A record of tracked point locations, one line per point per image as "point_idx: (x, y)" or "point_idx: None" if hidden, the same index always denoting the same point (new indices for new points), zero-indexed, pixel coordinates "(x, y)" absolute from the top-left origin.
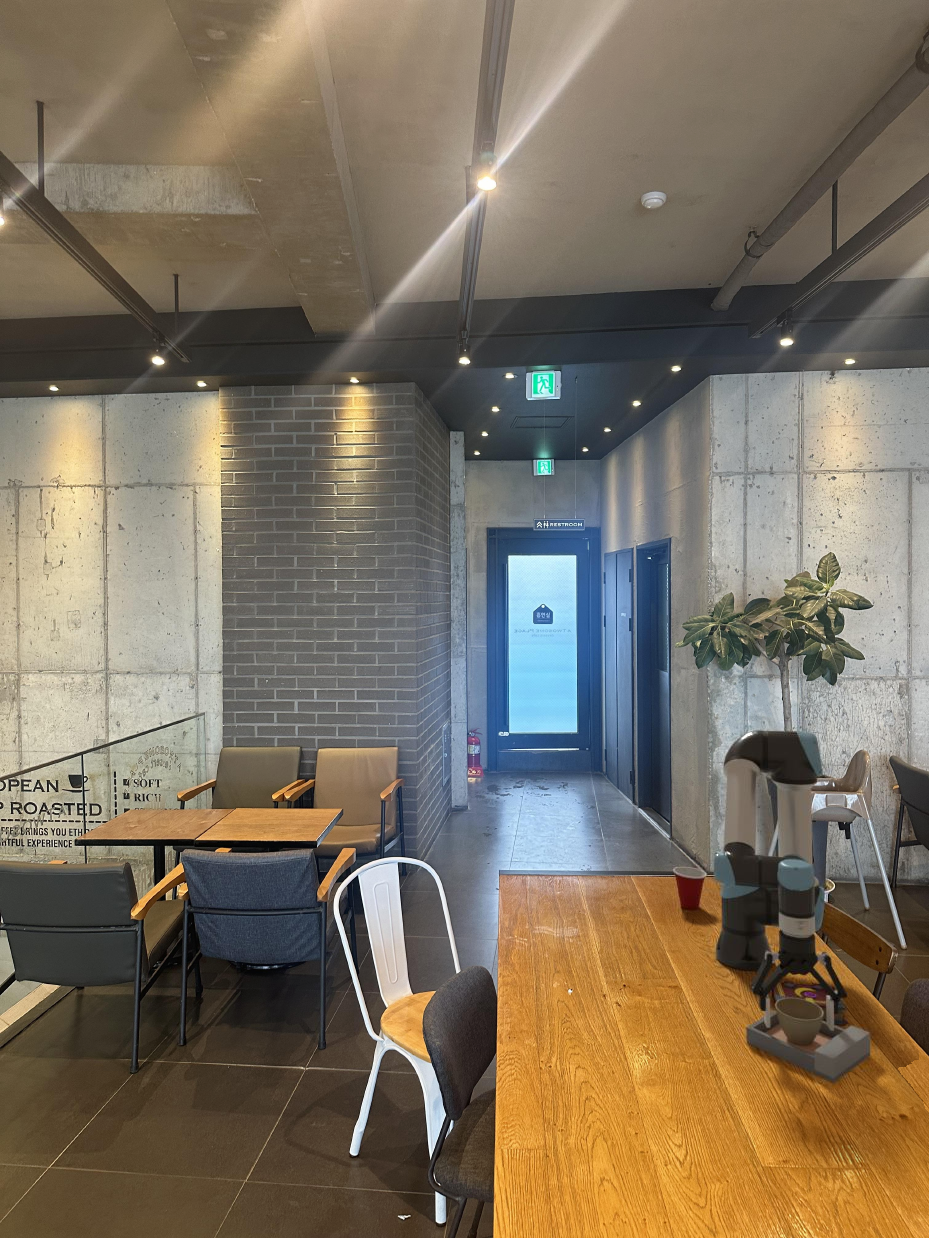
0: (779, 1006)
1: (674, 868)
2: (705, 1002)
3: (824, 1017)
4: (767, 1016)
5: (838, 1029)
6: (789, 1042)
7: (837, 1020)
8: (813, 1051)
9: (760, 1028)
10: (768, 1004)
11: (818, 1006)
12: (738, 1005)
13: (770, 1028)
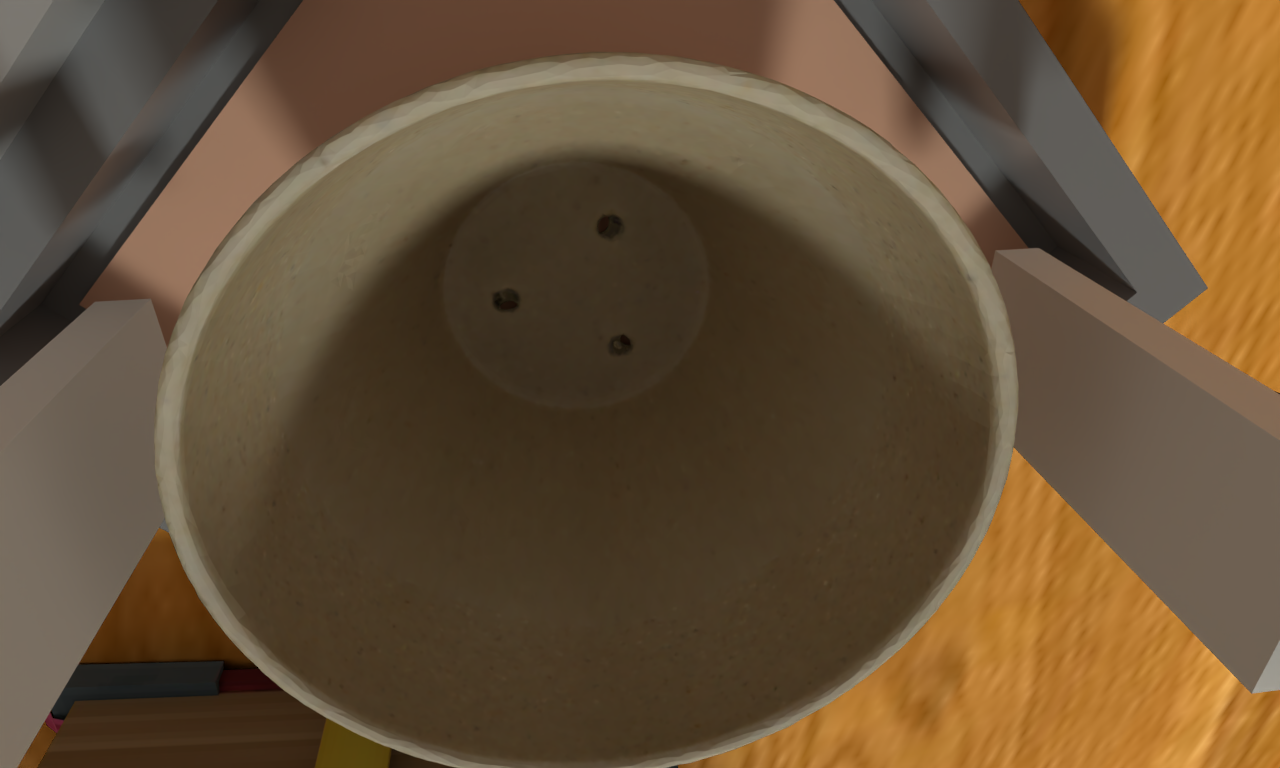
0: (834, 591)
1: None
2: (1108, 733)
3: (244, 706)
4: (1131, 308)
5: None
6: None
7: (125, 696)
8: (465, 27)
9: None
10: (1272, 416)
11: (242, 630)
12: (893, 745)
13: None
